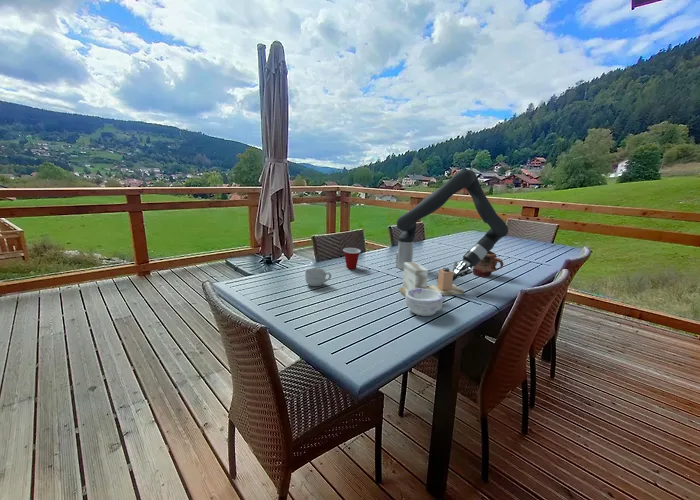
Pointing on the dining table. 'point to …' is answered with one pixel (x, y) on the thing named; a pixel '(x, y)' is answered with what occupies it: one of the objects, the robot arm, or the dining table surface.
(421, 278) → the press housing
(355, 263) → the plastic cup
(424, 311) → the white bowl
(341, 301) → the dining table surface
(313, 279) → the teacup
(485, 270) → the brown ceramic mug
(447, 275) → the tan small carton
